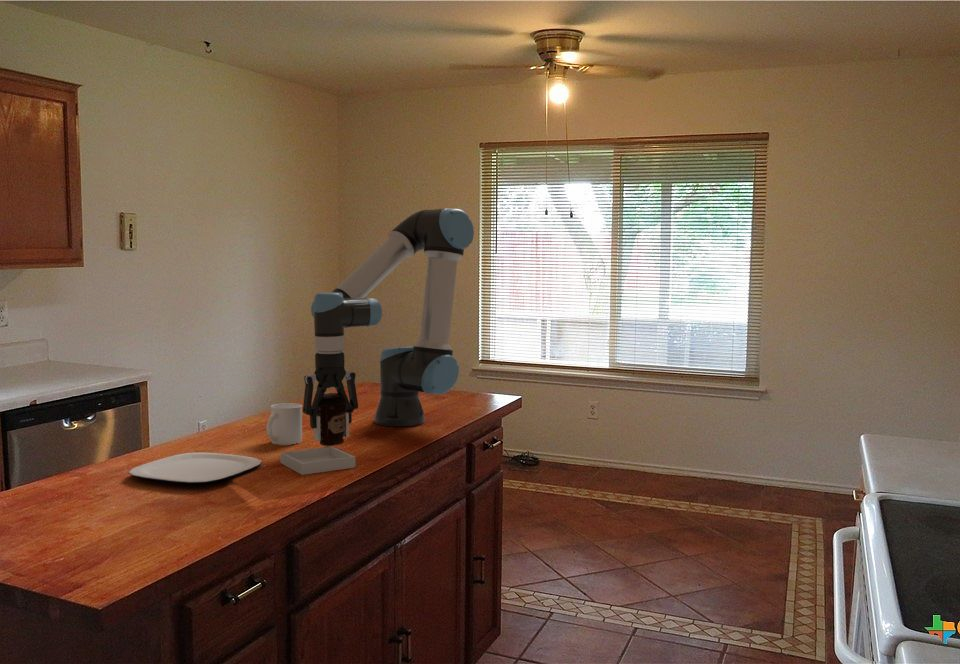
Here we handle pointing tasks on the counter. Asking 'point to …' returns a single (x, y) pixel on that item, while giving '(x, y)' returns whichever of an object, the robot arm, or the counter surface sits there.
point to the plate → (195, 467)
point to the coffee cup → (332, 419)
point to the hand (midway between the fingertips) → (331, 438)
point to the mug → (285, 424)
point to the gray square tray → (317, 460)
